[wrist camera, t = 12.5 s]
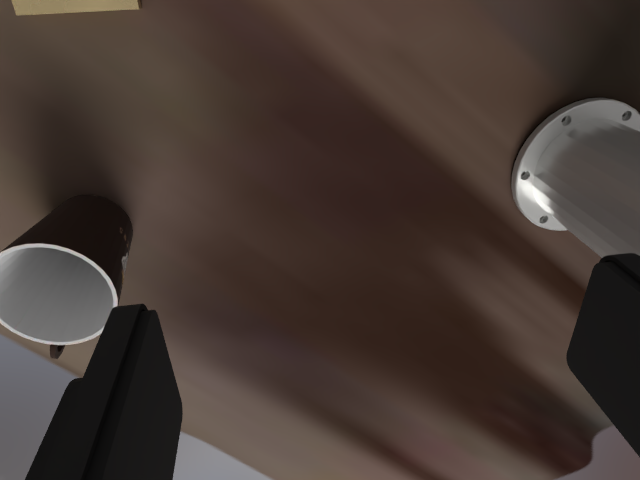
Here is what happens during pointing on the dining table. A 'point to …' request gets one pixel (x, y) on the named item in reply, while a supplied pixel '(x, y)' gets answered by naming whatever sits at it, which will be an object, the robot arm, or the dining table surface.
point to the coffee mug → (66, 273)
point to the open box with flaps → (71, 6)
